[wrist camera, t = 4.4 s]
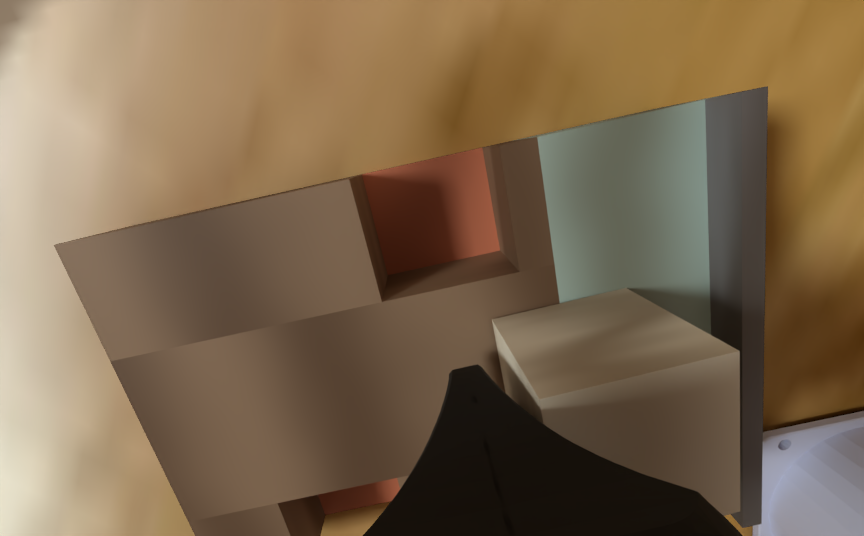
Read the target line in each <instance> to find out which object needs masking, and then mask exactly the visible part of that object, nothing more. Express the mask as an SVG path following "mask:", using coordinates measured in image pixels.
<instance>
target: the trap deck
mask: <svg viewBox="0 0 864 536" xmlns="http://www.w3.org/2000/svg"><path fill="white" fill-rule="evenodd" d="M767 110H768V86H767V87H762V88H757V89H752V90H747V91H742V92H737V93H732V94H727V95H722V96H717V97H712V98H707V99H702V100H697V101H692V102H687V103H682V104H677V105H672V106H667V107H662V108H657V109H652V110H648V111H643V112H639V113H634V114H630V115H626V116H621V117H617V118H612V119H608V120H603V121H599V122H594V123H590V124H585V125H581V126H576V127H572V128H567V129H563V130H558V131H554V132H550V133H545V134H541V135H536V136H532V137H527V138H523V139H518V140H514V141H509V142H505V143H500V144H496V145H491V146H487V147H482V148H478V149H474V150H469V151H465V152H460V153H456V154H451V155H447V156H442V157H438V158H433V159H429V160H424V161H420V162H415V163H411V164H406V165H402V166H398V167H393V168H389V169H384V170H380V171H375V172H371V173H366V174H362V175H357V176H353V177H348V178H344V179H339V180H335V181H331V182H326V183H322V184H317V185H313V186H308V187H304V188H299V189H295V190H290V191H286V192H281V193H277V194H272V195H268V196H263V197H259V198H255V199H250V200H246V201H241V202H237V203H232V204H228V205H223V206H219V207H214V208H210V209H205V210H201V211H196V212H192V213H187V214H183V215H179V216H174V217H170V218H165V219H161V220H156V221H152V222H147V223H143V224H138V225H134V226H129V227H125V228H121V229H117V230H113V231H109V232H105V233H101V234H97V235H93V236H89V237H85V238H81V239H76V240H72V241H68V242H64V243H60V244H56V245H54V246H55V248H56V250H57V253H58V255H59V257H60V259H61V261H62V263H63V265H64V267H65V269H66V271H67V273H68V275H69V277H70V279H71V281H72V283H73V285H74V287H75V290H76V292H77V294H78V296H79V298H80V300H81V302H82V304H83V306H84V308H85V310H86V312H87V314H88V316H89V318H90V320H91V322H92V324H93V327H94V329H95V331H96V333H97V335H98V337H99V339H100V341H101V343H102V345H103V347H104V349H105V351H106V353H107V355H108V357H109V359H110V361H111V364H112V366H113V368H114V370H115V372H116V374H117V376H118V378H119V380H120V382H121V384H122V386H123V388H124V390H125V392H126V394H127V396H128V398H129V401H130V403H131V405H132V407H133V409H134V411H135V413H136V415H137V417H138V419H139V421H140V423H141V425H142V427H143V429H144V431H145V433H146V435H147V438H148V440H149V442H150V444H151V446H152V448H153V450H154V452H155V454H156V456H157V458H158V460H159V462H160V464H161V466H162V468H163V470H164V472H165V475H166V477H167V479H168V481H169V483H170V485H171V487H172V489H173V491H174V493H175V495H176V497H177V499H178V501H179V503H180V505H181V507H182V509H183V512H184V514H185V516H186V518H187V520H188V522H189V524H190V526H191V528H192V530H193V532H194V534H195V536H320V534H321V530H322V526H323V522H324V518H325V515H328V514H332V513H337V512H342V511H347V510H351V509H356V508H361V507H366V506H371V505H375V504H380V503H385V502H390V501H392V500H393V499H394V497H395V496H396V495H397V493H398V492H399V490H400V489H401V487H402V486H403V484H404V483H405V481H406V479H407V478H408V476H409V475H410V473H411V472H412V470H413V468H414V467H415V465H416V463H417V461H418V460H419V458H420V456H421V454H422V452H423V450H424V448H425V446H426V444H427V442H428V440H429V438H430V436H431V433H432V431H433V429H434V426H435V424H436V422H437V419H438V416H439V414H440V411H441V407H442V404H443V401H444V398H445V395H446V391H447V386H448V381H449V374H450V372H451V371H452V370H454V369H458V368H463V367H468V366H472V365H477V364H478V365H480V366H481V367H482V368H483V369H484V370H485V372H486V373H487V374H488V375H489V377H490V378H491V379H492V380H493V381H494V382H495V383H496V384H497V385H498V386H499V387H500V388H501V389H502V390H503V391H504V392H505V387H504V382H503V376H502V371H501V366H500V360H499V355H498V350H497V345H496V339H495V334H494V329H493V323H492V319H496V318H500V317H505V316H509V315H513V314H517V313H522V312H526V311H530V310H534V309H538V308H543V307H547V306H551V305H555V304H560V303H564V302H568V301H572V300H577V299H581V298H585V297H589V296H594V295H598V294H602V293H606V292H610V291H615V290H619V289H623V288H627V289H629V290H631V291H632V292H634V293H636V294H638V295H640V296H641V297H643V298H645V299H647V300H649V301H650V302H652V303H654V304H656V305H658V306H659V307H661V308H663V309H665V310H667V311H668V312H670V313H672V314H674V315H676V316H677V317H679V318H681V319H683V320H685V321H686V322H688V323H690V324H692V325H694V326H695V327H697V328H699V329H701V330H703V331H704V332H706V333H708V334H710V335H712V336H713V337H715V338H717V339H719V340H721V341H722V342H724V343H726V344H728V345H730V346H731V347H733V348H735V349H737V350H739V351H740V512H736V513H732V514H731V515H732V516H733V517H734V519H735V520H736V521H737V522H738V523H739V524H740V525H741V527H742V528H744V527H749V526H754V525H759V524H761V523H762V454H763V385H764V316H765V247H766V179H767ZM505 393H506V392H505Z"/></svg>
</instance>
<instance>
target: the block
mask: <svg viewBox="0 0 864 536" xmlns="http://www.w3.org/2000/svg"><path fill="white" fill-rule="evenodd" d="M492 323H493V329H494V334H495V339H496V345H497V350H498V355H499V360H500V366H501V371H502V376H503V382H504V387H505V392H506V394H507V395H508V396H509V397H510V398H511V399H513V400H514V401H515V402H516V403H517V404H518V405H519V406H521V407H522V408H523V409H524V410H525V411H527V412H528V413H529V414H531V415H532V416H533V417H534V418H536V419H537V420H538V421H540V422H541V423H543V424H544V425H545V426H547V427H548V428H550V429H551V430H553V431H555V432H556V433H558V434H559V435H561V436H562V437H564V438H566V439H567V440H569V441H571V442H573V443H575V444H576V445H578V446H580V447H582V448H584V449H586V450H588V451H590V452H592V453H594V454H596V455H598V456H601V457H603V458H605V459H607V460H609V461H612V462H614V463H616V464H619V465H621V466H624V467H626V468H629V469H631V470H634V471H636V472H639V473H642V474H644V475H647V476H650V477H653V478H657V479H660V480H663V481H666V482H669V483H672V484H675V485H679V486H682V487H685V488H688V489H691V490H694V491H697V492H699V493H700V494H701V495H702V496H703V497H704V498H705V499H706V500H707V501H708V502H709V503H710V504H711V505H712V506H713V507H714V508H716V509H717V510H718V511H719V512H720V513H721V514H722V515H723V516H724V515H728V514H732V513H736V512H740V351H739V350H737V349H735V348H733V347H731V346H730V345H728V344H726V343H724V342H722V341H721V340H719V339H717V338H715V337H713V336H712V335H710V334H708V333H706V332H704V331H703V330H701V329H699V328H697V327H695V326H694V325H692V324H690V323H688V322H686V321H685V320H683V319H681V318H679V317H677V316H676V315H674V314H672V313H670V312H668V311H667V310H665V309H663V308H661V307H659V306H658V305H656V304H654V303H652V302H650V301H649V300H647V299H645V298H643V297H641V296H640V295H638V294H636V293H634V292H632V291H631V290H629V289H627V288H623V289H619V290H615V291H610V292H606V293H602V294H598V295H594V296H589V297H585V298H581V299H577V300H572V301H568V302H564V303H560V304H555V305H551V306H547V307H543V308H538V309H534V310H530V311H526V312H522V313H517V314H513V315H509V316H505V317H500V318H496V319H492Z"/></svg>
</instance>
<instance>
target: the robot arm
mask: <svg viewBox="0 0 864 536" xmlns="http://www.w3.org/2000/svg"><path fill="white" fill-rule="evenodd" d="M363 536H742V535H741V534H740V532H739V531H738V530H737V529H736V528H735V527H734V526H733V525H732V524H731V523H730V522H729V521H728V520H727V519H726V518H725V517H724V516H723V515H722V514H721V513H720V512H719V511H718V510H717V509H716V508H714V507H713V506H712V505H711V504H710V503H709V502H708V501H707V500H706V499H705V498H704V497H703V496H702V495H701V494H700V493H699V492H697V491H694V490H691V489H688V488H685V487H682V486H679V485H675V484H672V483H669V482H666V481H663V480H660V479H657V478H653V477H650V476H647V475H644V474H642V473H639V472H636V471H634V470H631V469H629V468H626V467H624V466H621V465H619V464H616V463H614V462H612V461H609V460H607V459H605V458H603V457H601V456H598V455H596V454H594V453H592V452H590V451H588V450H586V449H584V448H582V447H580V446H578V445H576V444H575V443H573V442H571V441H569V440H567V439H566V438H564V437H562V436H561V435H559V434H558V433H556V432H555V431H553V430H551V429H550V428H548V427H547V426H545V425H544V424H543V423H541V422H540V421H538V420H537V419H536V418H534V417H533V416H532V415H531V414H529V413H528V412H527V411H525V410H524V409H523V408H522V407H521V406H519V405H518V404H517V403H516V402H515V401H514V400H513V399H511V398H510V397H509V396H508V395H507V394H506V393H505V392H504V391H503V390H502V389H501V388H500V387H499V386H498V385H497V384H496V383H495V382H494V381H493V380H492V379H491V378H490V377H489V375H488V374H487V373H486V372H485V370H484V369H483V368H482V367H481V366H480V365H478V364H477V365H472V366H468V367H463V368H458V369H454V370H452V371H451V372H450V374H449V381H448V386H447V391H446V395H445V398H444V401H443V404H442V407H441V411H440V414H439V416H438V419H437V422H436V424H435V426H434V429H433V431H432V433H431V436H430V438H429V440H428V442H427V444H426V446H425V448H424V450H423V452H422V454H421V456H420V458H419V460H418V461H417V463H416V465H415V467H414V468H413V470H412V472H411V473H410V475H409V476H408V478H407V479H406V481H405V483H404V484H403V486H402V487H401V489H400V490H399V492H398V493H397V495H396V496H395V497H394V499H393V500H392V501H391V503H390V504H389V505H388V506H387V508H386V509H385V510H384V511H383V513H382V514H381V515H380V516H379V518H378V519H377V520H376V521H375V523H374V524H373V525H372V526H371V527H370V528H369V529H368V531H367V532H366V533H365V534H364V535H363ZM753 536H864V411H861V412H856V413H851V414H846V415H842V416H837V417H832V418H827V419H823V420H818V421H813V422H808V423H804V424H799V425H794V426H789V427H785V428H780V429H775V430H770V431H765V432H763V454H762V523H761V524H759V525H754V526H753Z"/></svg>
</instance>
